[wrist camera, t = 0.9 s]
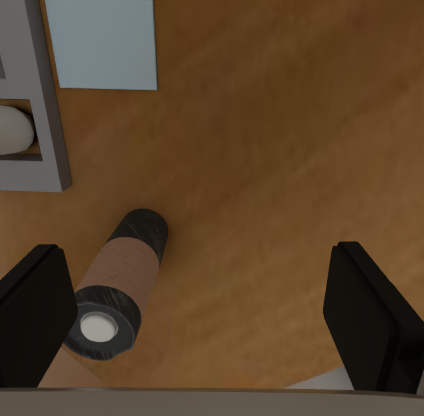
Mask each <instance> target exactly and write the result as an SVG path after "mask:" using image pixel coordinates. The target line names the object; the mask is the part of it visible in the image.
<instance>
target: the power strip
mask: <svg viewBox="0 0 424 416" xmlns="http://www.w3.org/2000/svg"><path fill="white" fill-rule="evenodd" d="M0 98H1V99H30V103H31V108H32V112H33V117H34V122H35V126H36V131H37V136H38V140H39V145H40V150H41V154H42V155H33V154H3V155H0V190H12V191H41V192H63V191H64V190H66V189H67V188H68V187H69V186H70V185H72V182H71V176H70V170H69V165H68V159H67V154H66V148H65V143H64V137H63V132H62V126H61V120H60V115H59V109H58V104H57V98H56V93H55V87H54V82H53V76H52V70H51V65H50V59H49V54H48V48H47V43H46V37H45V32H44V26H43V20H42V15H41V9H40V4H39V0H0Z"/></svg>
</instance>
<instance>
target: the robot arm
mask: <svg viewBox="0 0 424 416" xmlns="http://www.w3.org/2000/svg"><path fill="white" fill-rule="evenodd" d="M323 315H324V319H325V321H326V324H327V326H328V328H329V331H330V333H331V335H332V338H333V340H334V343H335V345H336V347H337V350H338V352H339V354H340V357H341V359H342V361H343V364H344V366H345V369H346V371H347V373H348V376H349V378H350V380H351V383H352V385H353V388H354V390H324V389H323V390H321V389H253V388H37V387H38V385H39V383H40V382H41V380H42V378H43V376H44V375H45V373H46V371H47V369H48V368H49V366H50V364H51V363H52V361H53V359H54V357H55V356H56V354H57V352H58V350H59V349H60V347H61V345H62V344H63V342H64V340H65V338H66V337H67V335H68V333H69V331H70V330H71V328H72V326H73V324H74V323H75V321H76V319H77V316H78V306H77V302H76V298H75V294H74V290H73V286H72V282H71V278H70V274H69V270H68V266H67V262H66V258H65V254H64V251H63V249H61V248H59V247H58V246H57V245H56V244H40V245H37V246H36V247H35V248H34V249H33V250H31V251H30V252H29V253H28V254H27V255H26V256H25V257H24V258H23V259H22V260H21V261H20V262H19V263H18V264H17V265H16V266H15V267H14V268H13V269H12V270H10V271H9V272H8V273H7V274H6V275H5V276H4V277H3V278H2V279H1V280H0V416H424V322H423V321H422V319H421V318H420V317H419V316H418V314H417V313H416V312H415V311H414V309H413V308H412V307H411V306H410V305H409V303H408V302H407V301H406V300H405V298H404V297H403V296H402V295H401V293H400V292H399V291H398V290H397V289H396V287H395V286H394V285H393V284H392V283H391V282H390V281H389V280H388V278H387V277H386V276H385V275H384V273H383V272H382V271H381V270H380V268H379V267H378V266H377V265H376V263H375V262H374V261H373V260H372V258H371V257H370V256H369V255H368V254H367V252H366V251H365V250H364V249H363V247H362V246H361V245H360V244H359V243H358V242H356V241H351V242H339V243H338V245H337V246H333V248H332V252H331V259H330V266H329V272H328V279H327V286H326V292H325V299H324V306H323Z"/></svg>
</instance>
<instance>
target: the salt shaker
mask: <svg viewBox="0 0 424 416" xmlns="http://www.w3.org/2000/svg"><path fill="white" fill-rule="evenodd" d="M35 132H36V127H35V125H34V123H33V121H32V119H31V117H30V116H29V115H27V114H25V113H23V112H21V111H19V110H18V109H16V108H14V107H9V106H3V105H0V155H3V154H11V153H18V152H21V151H24V150H26V149H28V148H29V146H30V145H31V144H32V143H33V139H34V134H35Z"/></svg>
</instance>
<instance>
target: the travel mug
mask: <svg viewBox="0 0 424 416" xmlns="http://www.w3.org/2000/svg"><path fill="white" fill-rule="evenodd" d="M167 236H168V228H167V225H166V222H165V221H164V219H163V218H162V217H161V216H160V215H159V214H157V213H156V212H154V211H151V210H147V209H138V210H134V211H132V212H130V213H129V214H127V215H126V216H125V217H124V219H123V220H122V221H121V223H120V224H119V225H118V227H117V228H116V230H115V231H114V232H113V234H112V235H111V236H110V238H109V239H108V240H107V242H106V243H105V245H104V246H103V247H102V249H101V250H100V252H99V254H98V255H97V257H96V258H95V260H94V261H93V263H92V265H91V266H90V268H89V269H88V271H87V272H86V274H85V275H84V277H83V279H82V280H81V282H80V283H79V285H78V286H77V288H76V290H75V291H74V294H75V298H76V302H77V306H78V316H77V319H76V321H75V323H74V324H73V326H72V328H71V330H70V331H69V333H68V335H67V337H66V338H65V340H64V342H63V343H64V344H65V345H66V346H67V347H68V348H69V349H70V350H71V351H73V352H74V353H76V354H78V355H80V356H82V357H85V358H88V359H92V360H99V361H108V360H111V359H113V358H114V357H115V356H117V355H118V354H120V353H122V352H124V351H126V350H131V349H132V347H133V345H134V343H135V340H136V337H137V334H138V331H139V328H140V325H141V322H142V319H143V316H144V313H145V310H146V307H147V304H148V301H149V298H150V295H151V292H152V289H153V286H154V283H155V280H156V277H157V274H158V271H159V267H160V263H161V260H162V256H163V252H164V248H165V244H166V240H167Z"/></svg>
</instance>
